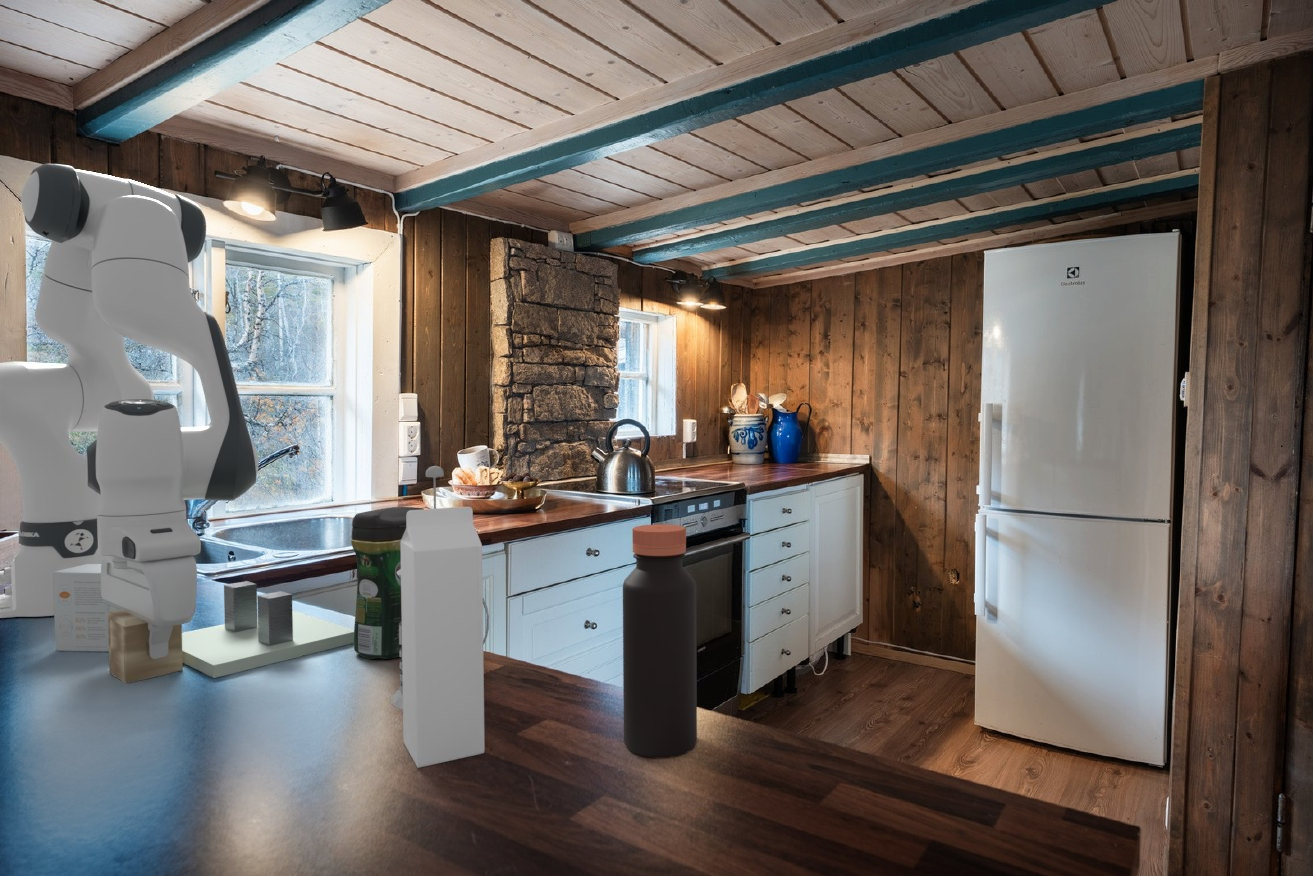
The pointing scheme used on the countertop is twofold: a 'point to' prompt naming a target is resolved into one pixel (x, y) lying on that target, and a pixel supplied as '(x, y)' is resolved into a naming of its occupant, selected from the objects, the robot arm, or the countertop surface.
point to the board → (258, 645)
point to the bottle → (659, 646)
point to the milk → (442, 636)
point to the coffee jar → (378, 581)
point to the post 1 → (240, 606)
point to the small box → (80, 610)
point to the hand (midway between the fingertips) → (146, 651)
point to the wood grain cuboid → (139, 649)
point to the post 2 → (275, 618)
